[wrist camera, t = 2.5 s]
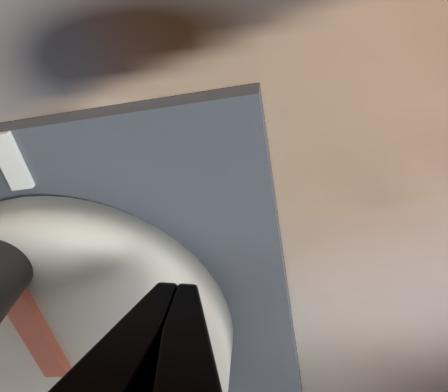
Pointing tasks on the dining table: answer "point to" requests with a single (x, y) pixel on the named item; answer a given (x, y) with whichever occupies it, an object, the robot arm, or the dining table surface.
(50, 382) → the dial
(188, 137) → the base plate
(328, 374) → the dining table surface
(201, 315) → the robot arm
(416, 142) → the dining table surface
